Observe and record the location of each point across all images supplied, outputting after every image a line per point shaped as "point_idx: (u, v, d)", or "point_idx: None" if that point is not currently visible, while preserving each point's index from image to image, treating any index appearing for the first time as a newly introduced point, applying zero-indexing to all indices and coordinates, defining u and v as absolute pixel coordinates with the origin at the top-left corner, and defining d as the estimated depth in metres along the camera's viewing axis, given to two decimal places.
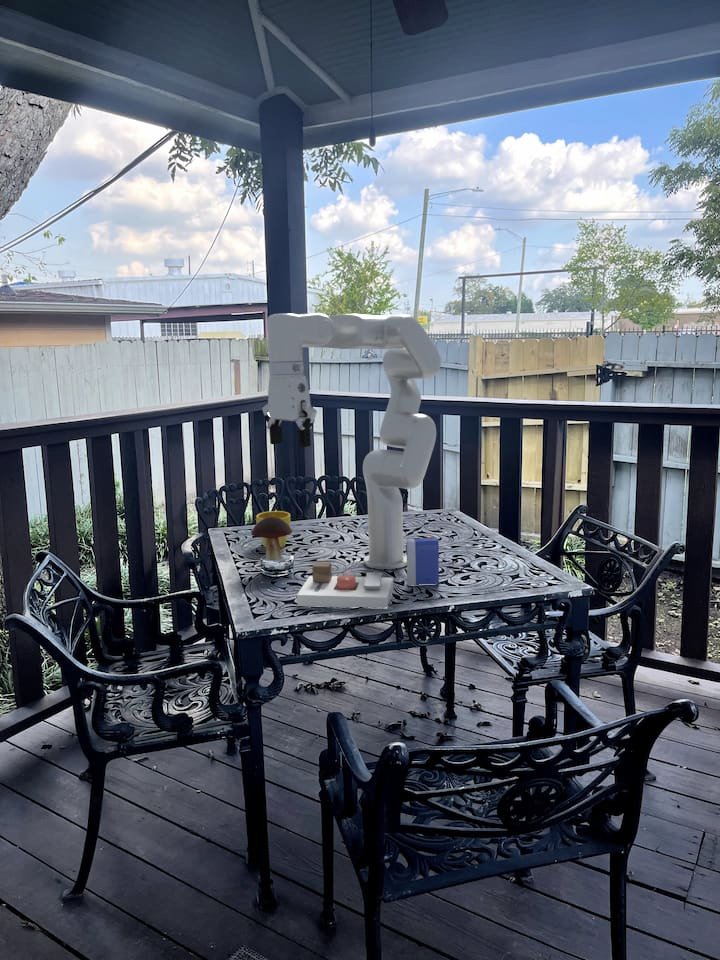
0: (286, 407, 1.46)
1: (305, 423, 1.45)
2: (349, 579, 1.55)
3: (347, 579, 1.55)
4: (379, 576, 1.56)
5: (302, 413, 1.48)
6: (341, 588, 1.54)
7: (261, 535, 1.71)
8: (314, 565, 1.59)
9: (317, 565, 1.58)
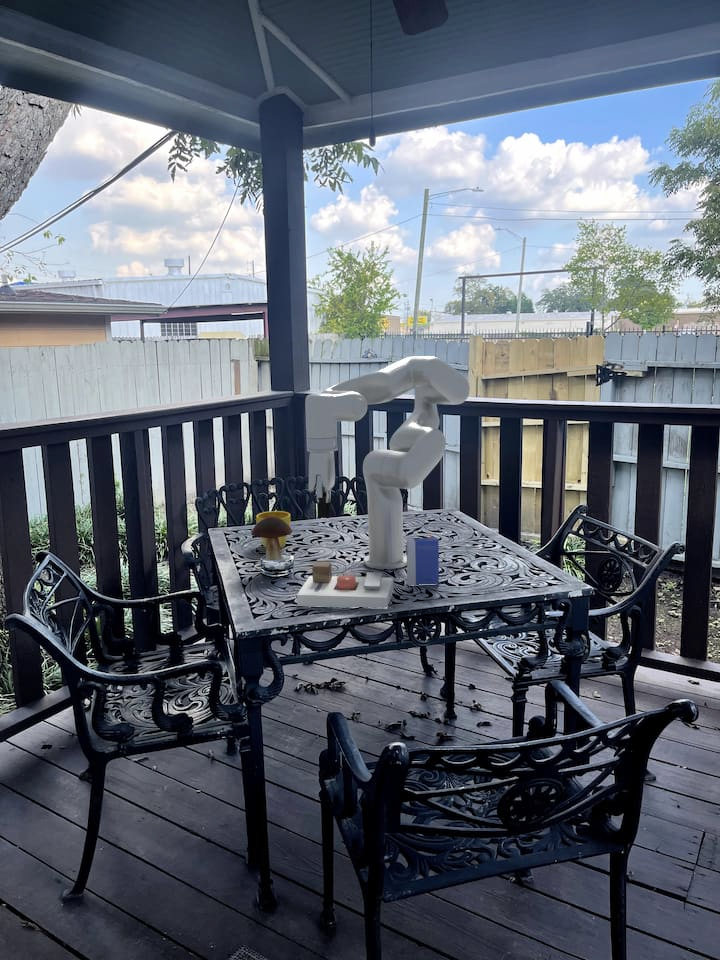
0: (334, 475, 1.63)
1: None
2: (349, 579, 1.55)
3: (347, 579, 1.55)
4: (379, 576, 1.56)
5: None
6: (341, 588, 1.54)
7: (261, 535, 1.71)
8: (314, 565, 1.59)
9: (317, 565, 1.58)
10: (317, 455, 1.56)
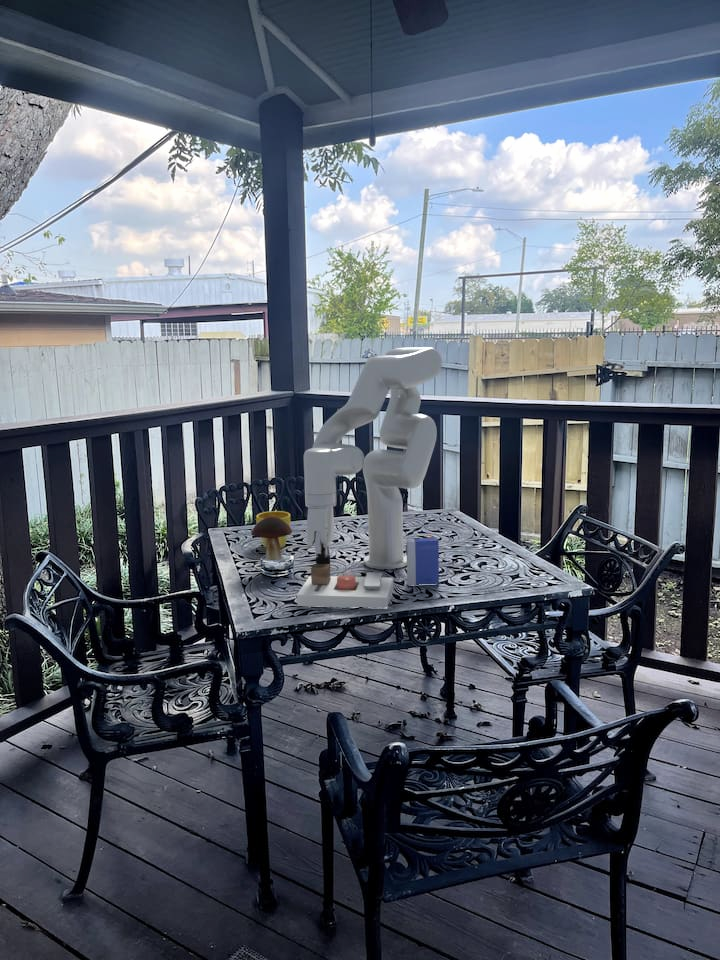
0: (332, 529, 1.62)
1: None
2: (349, 579, 1.55)
3: (347, 579, 1.55)
4: (379, 576, 1.56)
5: None
6: (341, 588, 1.54)
7: (261, 535, 1.71)
8: (313, 567, 1.57)
9: (316, 567, 1.57)
10: (315, 511, 1.55)
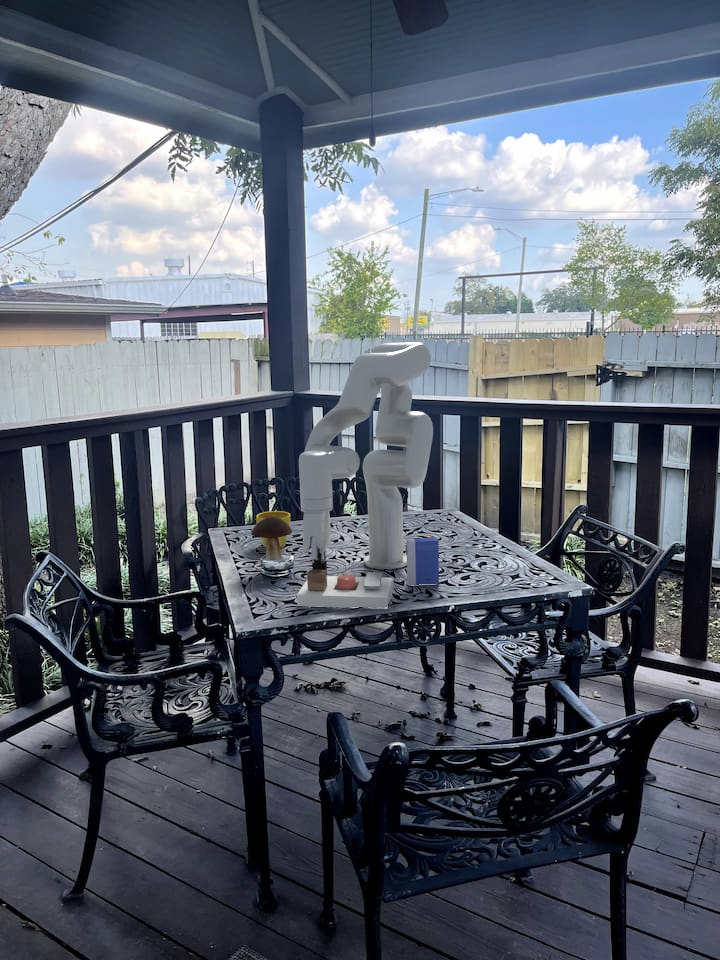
0: (329, 534, 1.58)
1: None
2: (349, 579, 1.55)
3: (347, 579, 1.55)
4: (379, 576, 1.56)
5: None
6: (341, 588, 1.54)
7: (261, 535, 1.71)
8: (309, 573, 1.53)
9: (312, 573, 1.53)
10: (311, 516, 1.50)
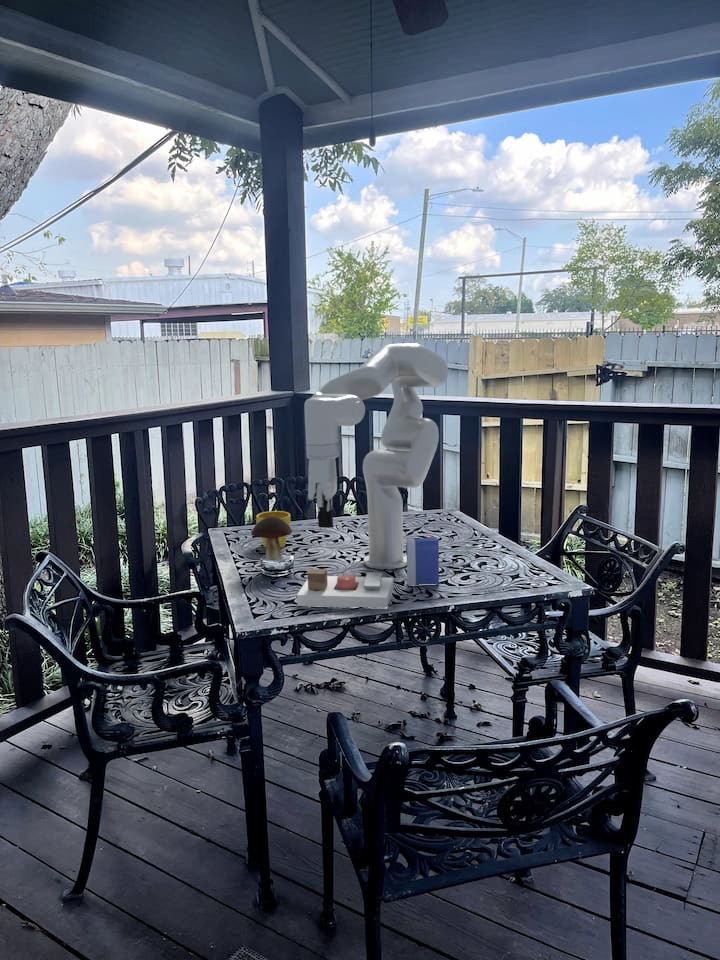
0: (335, 483, 1.56)
1: (330, 502, 1.57)
2: (349, 579, 1.55)
3: (347, 579, 1.55)
4: (379, 576, 1.56)
5: None
6: (341, 588, 1.54)
7: (261, 535, 1.71)
8: (309, 572, 1.54)
9: (313, 573, 1.53)
10: (316, 462, 1.49)
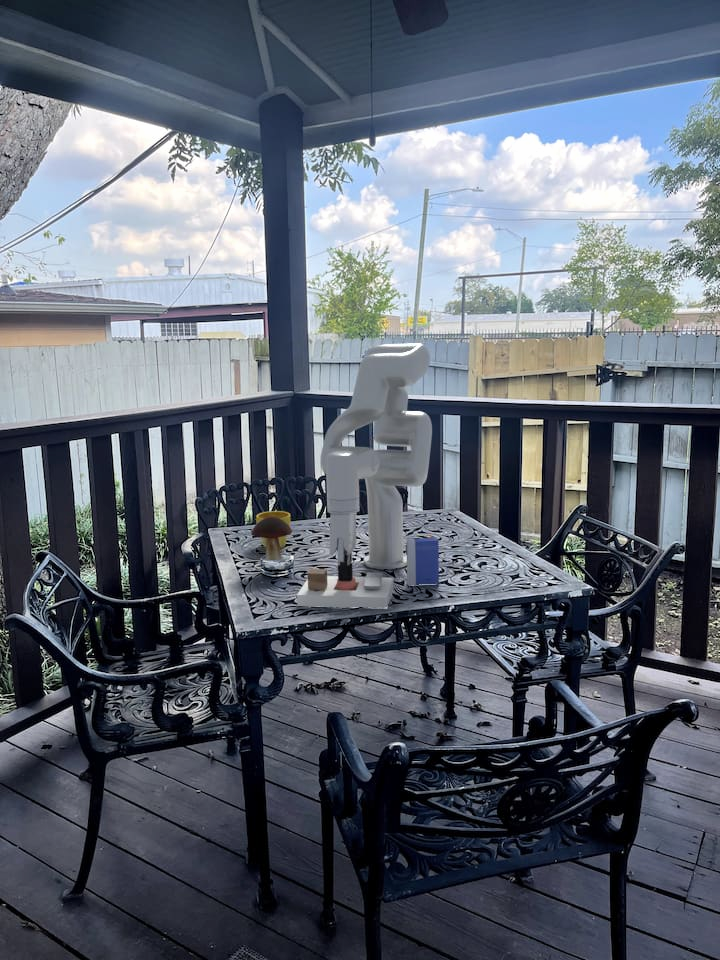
0: (355, 536, 1.55)
1: None
2: None
3: None
4: (379, 576, 1.56)
5: None
6: (341, 589, 1.54)
7: (261, 535, 1.71)
8: (309, 572, 1.54)
9: (313, 573, 1.53)
10: (338, 517, 1.48)
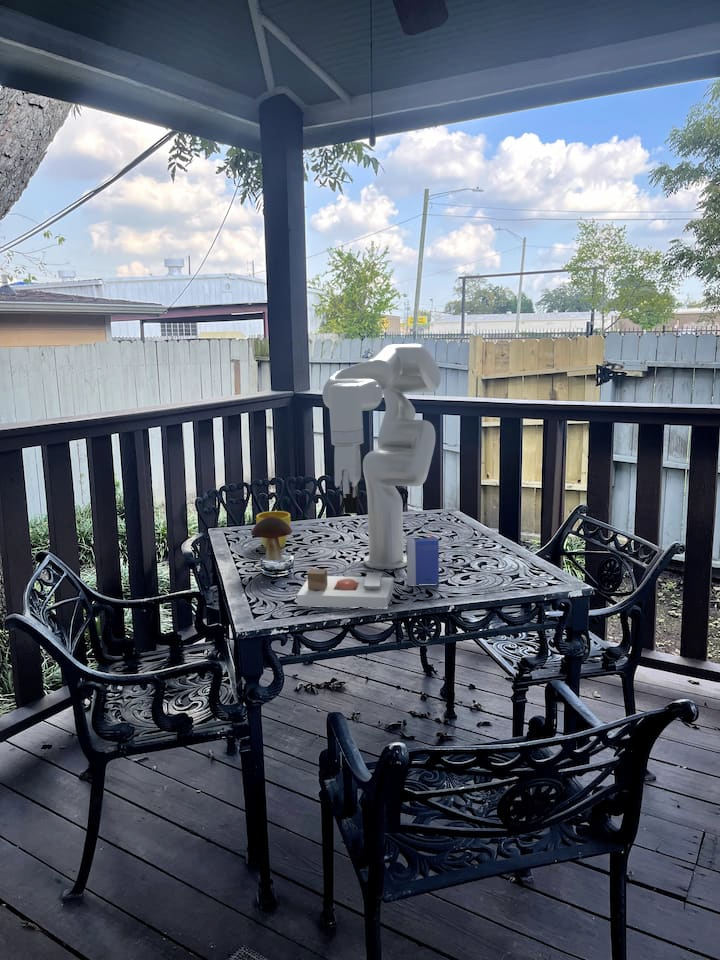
0: (360, 468, 1.55)
1: None
2: (349, 583, 1.55)
3: (347, 583, 1.55)
4: (379, 576, 1.56)
5: None
6: None
7: (261, 535, 1.71)
8: (309, 572, 1.54)
9: (313, 573, 1.53)
10: (342, 449, 1.48)
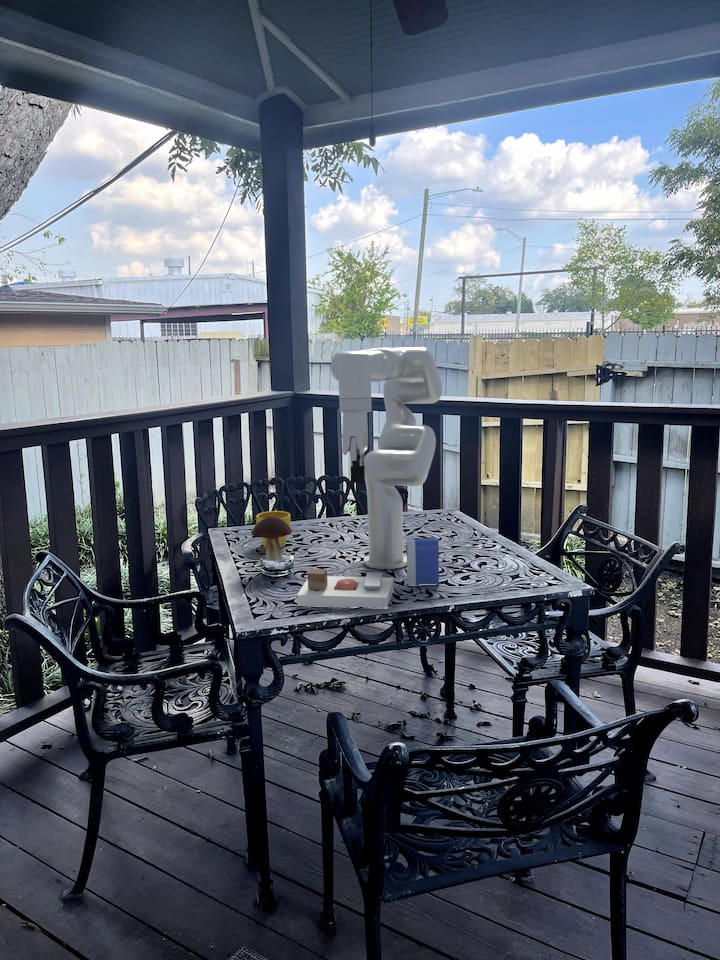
0: (367, 438, 1.57)
1: None
2: (349, 583, 1.55)
3: (347, 583, 1.55)
4: (379, 576, 1.56)
5: None
6: None
7: (261, 535, 1.71)
8: (309, 572, 1.54)
9: (313, 573, 1.53)
10: (351, 415, 1.50)
